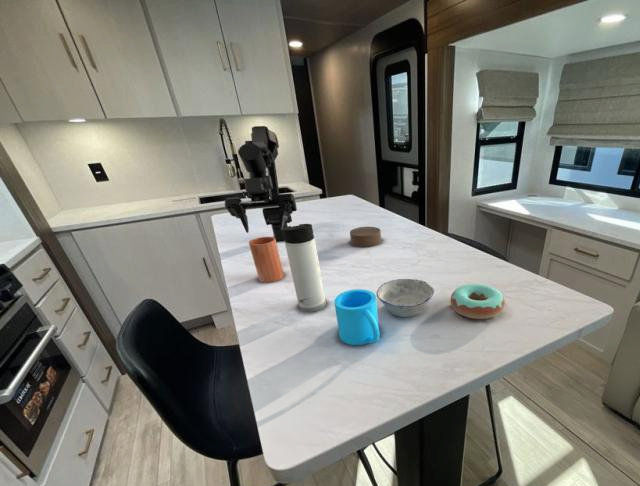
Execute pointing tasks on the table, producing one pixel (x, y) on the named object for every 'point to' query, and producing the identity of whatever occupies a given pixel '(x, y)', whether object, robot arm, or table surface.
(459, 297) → the donut
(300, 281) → the travel mug
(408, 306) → the bowl
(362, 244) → the stand
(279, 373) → the table surface
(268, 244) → the cup
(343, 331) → the mug
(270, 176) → the robot arm
